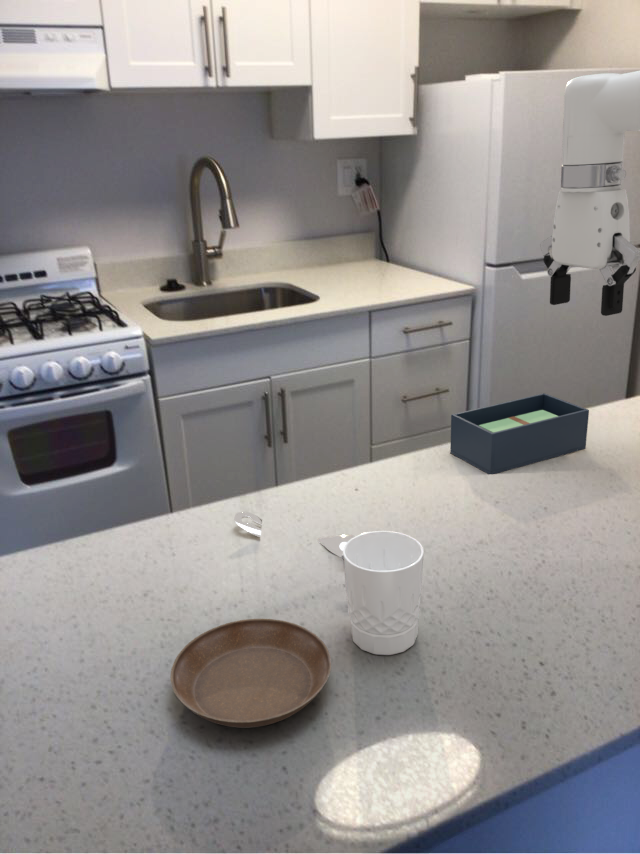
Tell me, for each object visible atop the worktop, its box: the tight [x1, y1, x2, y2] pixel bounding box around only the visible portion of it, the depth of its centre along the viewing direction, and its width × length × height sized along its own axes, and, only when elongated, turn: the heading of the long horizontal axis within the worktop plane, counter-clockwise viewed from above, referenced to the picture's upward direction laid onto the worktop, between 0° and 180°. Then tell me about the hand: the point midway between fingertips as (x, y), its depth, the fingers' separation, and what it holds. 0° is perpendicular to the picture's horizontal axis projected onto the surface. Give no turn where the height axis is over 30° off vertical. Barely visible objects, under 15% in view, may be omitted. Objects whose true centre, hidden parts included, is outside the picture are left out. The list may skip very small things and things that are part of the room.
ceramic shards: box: [233, 511, 356, 559], centre depth 95 cm, size 20×4×5 cm
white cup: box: [342, 530, 425, 656], centre depth 76 cm, size 8×8×10 cm
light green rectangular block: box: [478, 410, 557, 433], centre depth 119 cm, size 4×13×5 cm, turn 117°
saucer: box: [169, 618, 332, 729], centre depth 70 cm, size 15×15×3 cm
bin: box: [449, 392, 590, 475], centre depth 119 cm, size 19×10×7 cm, turn 117°
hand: (584, 308), depth 104 cm, fingers open, 9 cm apart
